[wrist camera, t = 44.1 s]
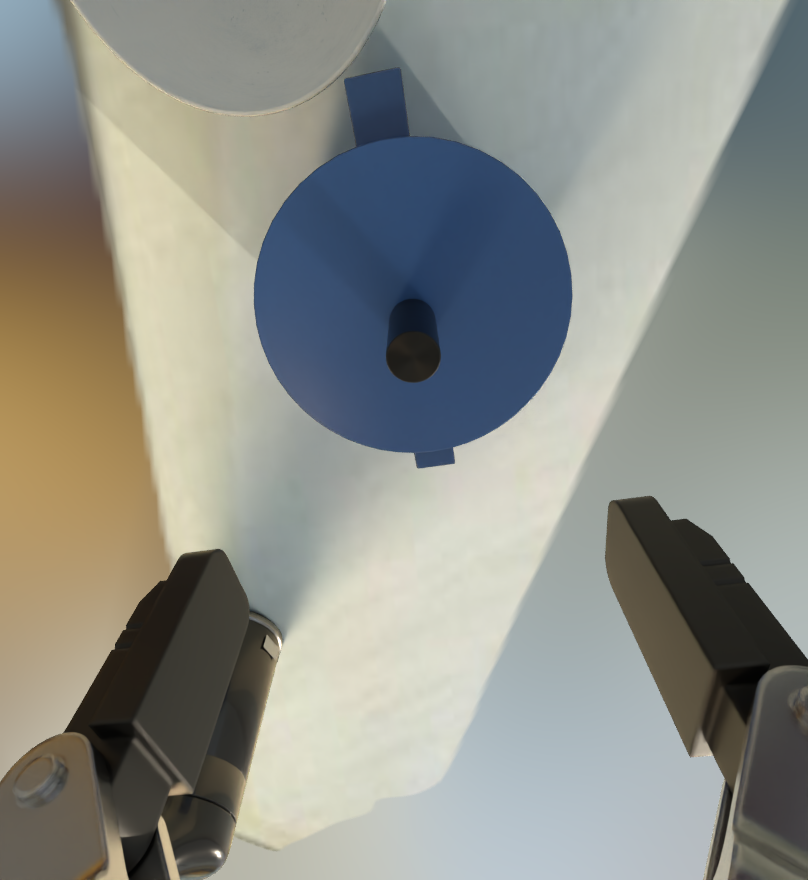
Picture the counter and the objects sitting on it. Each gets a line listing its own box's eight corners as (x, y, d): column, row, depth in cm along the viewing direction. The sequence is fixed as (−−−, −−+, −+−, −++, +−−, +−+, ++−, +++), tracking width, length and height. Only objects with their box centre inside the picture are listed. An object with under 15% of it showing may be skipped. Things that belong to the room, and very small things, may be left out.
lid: (305, 458, 30) (284, 523, 25) (213, 171, 22) (154, 181, 17) (564, 423, 29) (598, 484, 24) (568, 103, 21) (620, 91, 15)
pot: (340, 409, 39) (320, 488, 30) (262, 117, 29) (197, 107, 20) (522, 382, 38) (557, 457, 29) (508, 66, 28) (555, 31, 19)
